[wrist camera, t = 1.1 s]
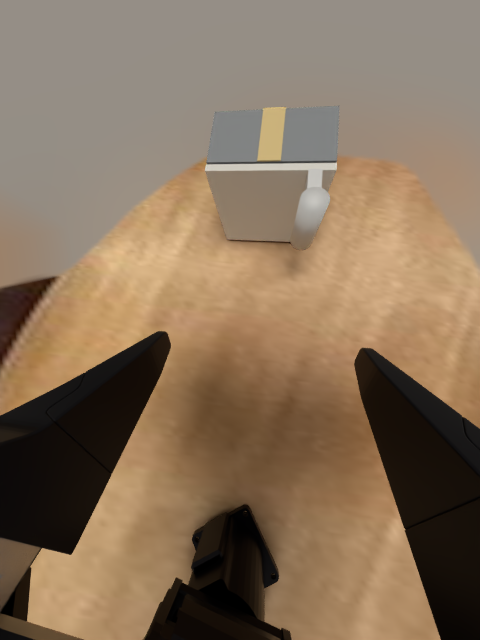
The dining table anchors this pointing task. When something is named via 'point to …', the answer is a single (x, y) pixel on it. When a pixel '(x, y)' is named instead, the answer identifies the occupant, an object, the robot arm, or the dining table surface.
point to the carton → (275, 136)
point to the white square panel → (271, 200)
